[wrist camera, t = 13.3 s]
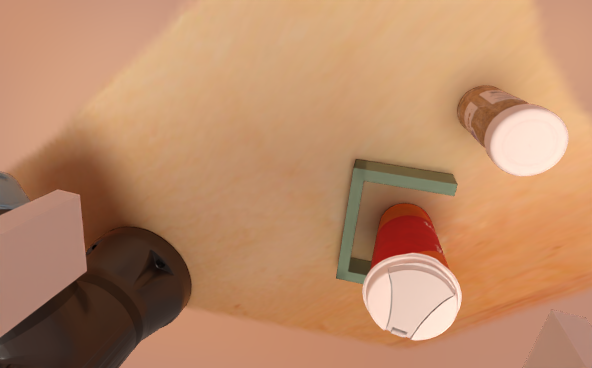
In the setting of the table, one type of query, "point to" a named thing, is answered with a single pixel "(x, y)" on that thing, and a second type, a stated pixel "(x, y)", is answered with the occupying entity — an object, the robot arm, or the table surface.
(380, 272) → the paper cup
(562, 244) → the table surface
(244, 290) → the table surface
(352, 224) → the green pocket
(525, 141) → the sprinkles bottle
